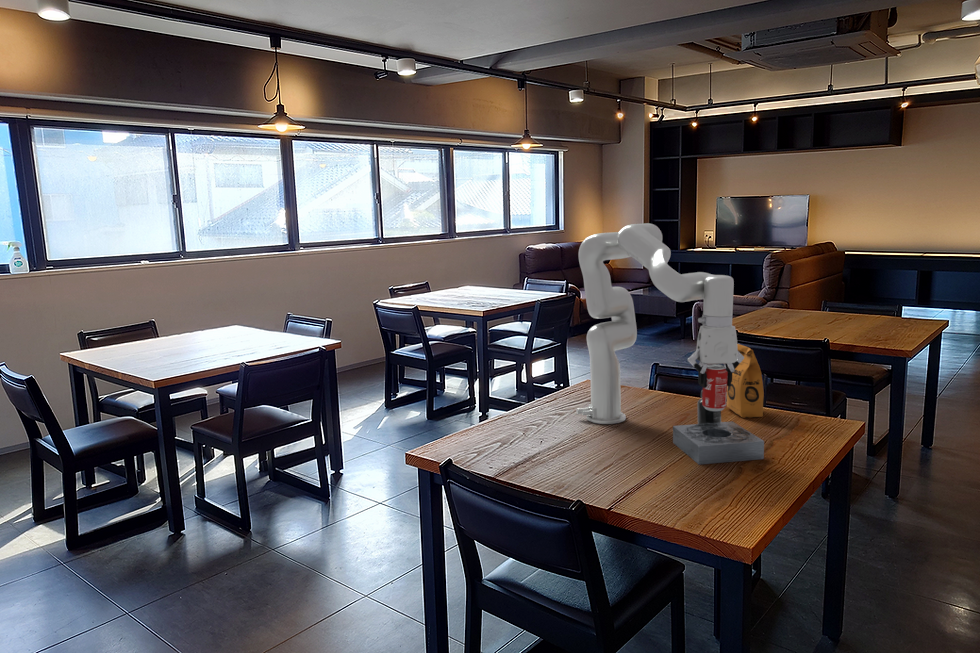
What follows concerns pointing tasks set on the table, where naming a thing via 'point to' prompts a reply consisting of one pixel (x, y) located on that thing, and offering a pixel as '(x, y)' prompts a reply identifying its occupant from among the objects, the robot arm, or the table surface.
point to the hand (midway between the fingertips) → (714, 385)
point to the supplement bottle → (707, 414)
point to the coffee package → (746, 386)
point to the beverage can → (715, 388)
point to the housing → (718, 442)
